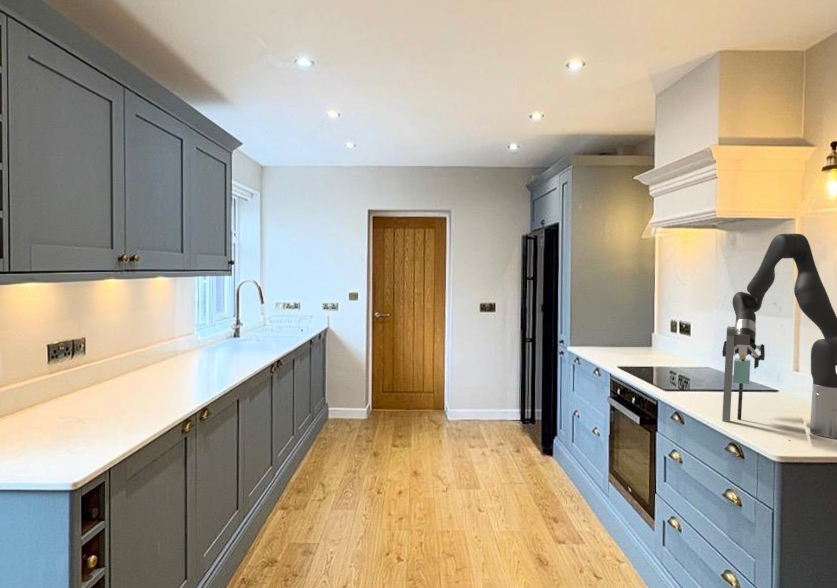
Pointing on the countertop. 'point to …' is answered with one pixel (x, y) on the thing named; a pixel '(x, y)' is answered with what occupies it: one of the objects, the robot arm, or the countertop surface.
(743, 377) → the sleeve
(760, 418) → the countertop surface
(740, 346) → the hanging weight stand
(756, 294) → the robot arm
